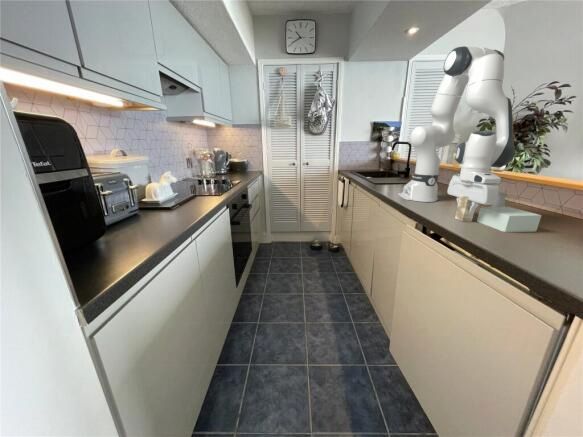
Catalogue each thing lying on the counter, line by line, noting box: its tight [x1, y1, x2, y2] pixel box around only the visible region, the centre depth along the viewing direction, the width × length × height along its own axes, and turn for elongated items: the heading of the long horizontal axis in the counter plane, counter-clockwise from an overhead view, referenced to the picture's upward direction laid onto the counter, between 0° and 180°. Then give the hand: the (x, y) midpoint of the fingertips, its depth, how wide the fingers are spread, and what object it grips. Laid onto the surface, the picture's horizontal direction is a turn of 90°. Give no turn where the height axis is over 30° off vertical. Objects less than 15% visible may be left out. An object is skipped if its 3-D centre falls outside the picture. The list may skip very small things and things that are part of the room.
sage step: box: [476, 206, 542, 233], centre depth 88 cm, size 12×12×6 cm
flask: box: [490, 192, 508, 207], centre depth 100 cm, size 7×7×10 cm
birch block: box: [454, 195, 475, 223], centre depth 94 cm, size 4×4×10 cm
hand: (465, 210), depth 94 cm, fingers closed on birch block, 4 cm apart
